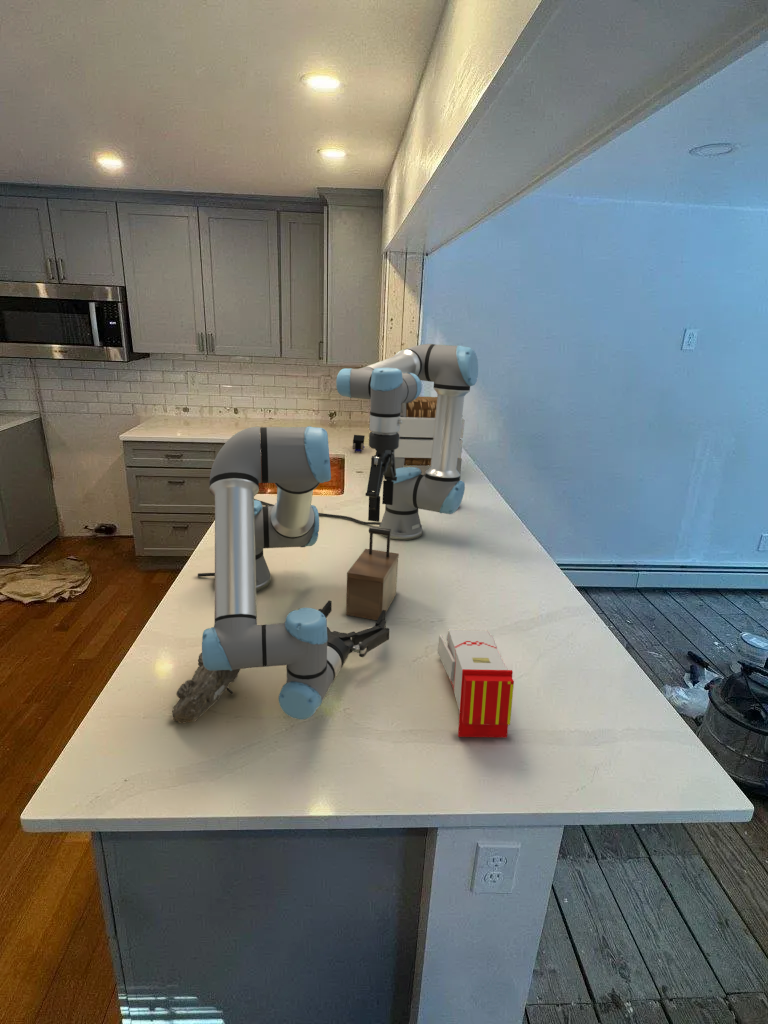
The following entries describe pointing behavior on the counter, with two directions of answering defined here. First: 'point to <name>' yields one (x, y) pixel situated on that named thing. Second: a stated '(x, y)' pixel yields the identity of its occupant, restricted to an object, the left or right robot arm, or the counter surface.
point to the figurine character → (358, 442)
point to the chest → (370, 595)
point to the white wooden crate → (419, 433)
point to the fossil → (201, 692)
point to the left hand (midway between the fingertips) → (356, 610)
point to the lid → (374, 560)
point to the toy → (478, 682)
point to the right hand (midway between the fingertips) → (380, 512)
